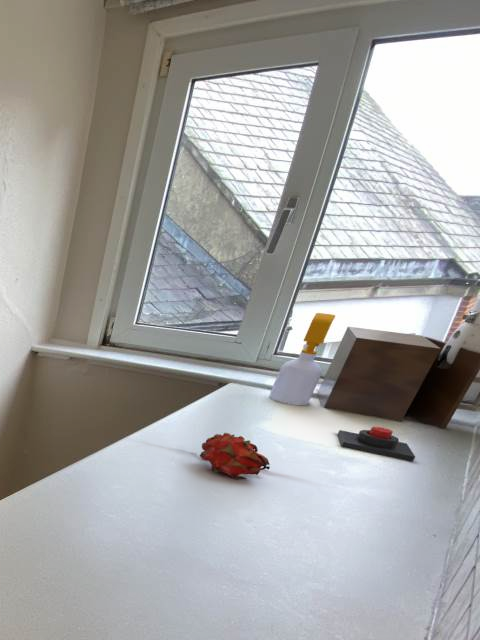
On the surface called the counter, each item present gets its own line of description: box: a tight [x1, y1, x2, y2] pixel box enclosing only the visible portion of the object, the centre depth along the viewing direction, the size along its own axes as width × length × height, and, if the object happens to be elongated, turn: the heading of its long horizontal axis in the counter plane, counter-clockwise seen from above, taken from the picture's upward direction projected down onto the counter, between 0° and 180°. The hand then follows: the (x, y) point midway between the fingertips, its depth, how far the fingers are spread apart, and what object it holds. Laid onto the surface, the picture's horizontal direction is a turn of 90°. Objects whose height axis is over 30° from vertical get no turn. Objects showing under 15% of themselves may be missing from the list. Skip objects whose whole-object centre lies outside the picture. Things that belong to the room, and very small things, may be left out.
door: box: [405, 336, 480, 429], centre depth 143 cm, size 6×22×20 cm, turn 164°
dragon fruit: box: [199, 432, 271, 481], centre depth 107 cm, size 8×8×12 cm
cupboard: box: [316, 326, 441, 423], centre depth 150 cm, size 16×22×20 cm
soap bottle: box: [268, 312, 336, 406], centre depth 149 cm, size 9×9×25 cm
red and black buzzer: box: [336, 429, 416, 463], centre depth 123 cm, size 12×10×4 cm
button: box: [369, 426, 394, 439], centre depth 122 cm, size 4×4×2 cm
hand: (447, 391), depth 144 cm, fingers closed
